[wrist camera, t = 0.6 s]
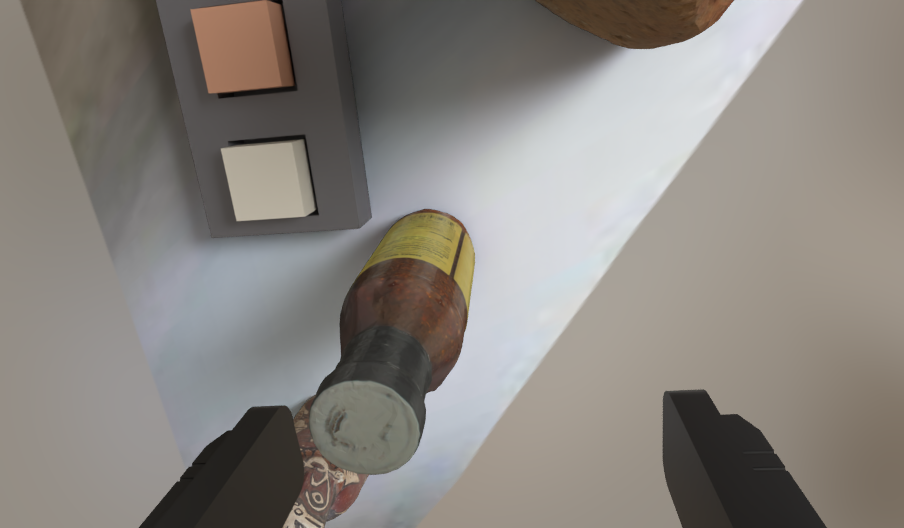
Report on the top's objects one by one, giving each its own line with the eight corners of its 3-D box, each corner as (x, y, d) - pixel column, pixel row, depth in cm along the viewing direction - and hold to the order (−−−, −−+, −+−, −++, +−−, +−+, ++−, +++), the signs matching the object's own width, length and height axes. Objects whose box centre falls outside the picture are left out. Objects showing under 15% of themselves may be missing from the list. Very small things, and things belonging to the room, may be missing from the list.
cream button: (237, 144, 34) (220, 148, 32) (304, 138, 33) (291, 142, 31) (251, 213, 35) (236, 221, 33) (316, 209, 35) (304, 216, 33)
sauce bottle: (369, 241, 38) (223, 398, 19) (438, 186, 36) (355, 300, 17) (428, 312, 39) (347, 526, 20) (498, 262, 37) (481, 446, 18)
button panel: (153, -141, 32) (117, -162, 29) (317, -168, 30) (297, -194, 28) (234, 226, 38) (211, 237, 36) (371, 217, 37) (359, 228, 34)
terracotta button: (209, 13, 32) (190, 9, 30) (281, 5, 31) (266, -1, 29) (226, 93, 33) (208, 93, 31) (295, 85, 32) (281, 86, 30)
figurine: (399, 419, 42) (356, 544, 31) (361, 483, 44) (308, 620, 33) (317, 376, 42) (242, 486, 30) (282, 442, 44) (201, 567, 33)
